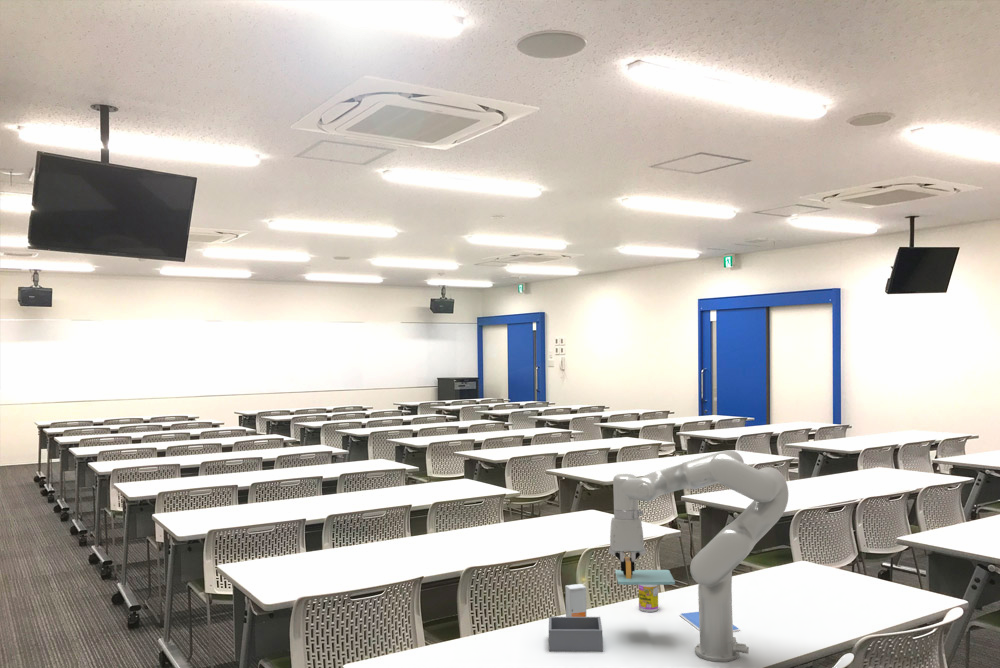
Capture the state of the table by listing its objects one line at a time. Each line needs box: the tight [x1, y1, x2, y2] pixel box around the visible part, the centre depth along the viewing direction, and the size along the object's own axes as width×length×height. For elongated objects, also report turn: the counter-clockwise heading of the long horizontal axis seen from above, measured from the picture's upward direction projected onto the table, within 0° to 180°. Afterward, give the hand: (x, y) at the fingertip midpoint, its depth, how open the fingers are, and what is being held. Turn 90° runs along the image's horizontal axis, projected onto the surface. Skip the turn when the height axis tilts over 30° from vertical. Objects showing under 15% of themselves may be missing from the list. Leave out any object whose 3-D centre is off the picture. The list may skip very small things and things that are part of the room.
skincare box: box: [564, 583, 587, 617], centre depth 254 cm, size 6×4×12 cm
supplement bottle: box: [638, 585, 659, 613], centre depth 265 cm, size 7×7×13 cm
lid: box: [614, 556, 676, 586], centre depth 237 cm, size 17×13×6 cm
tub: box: [548, 616, 604, 653], centre depth 233 cm, size 16×12×7 cm
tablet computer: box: [679, 611, 741, 633], centre depth 250 cm, size 19×13×1 cm, turn 12°
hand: (627, 573), depth 237 cm, fingers closed on lid, 1 cm apart
